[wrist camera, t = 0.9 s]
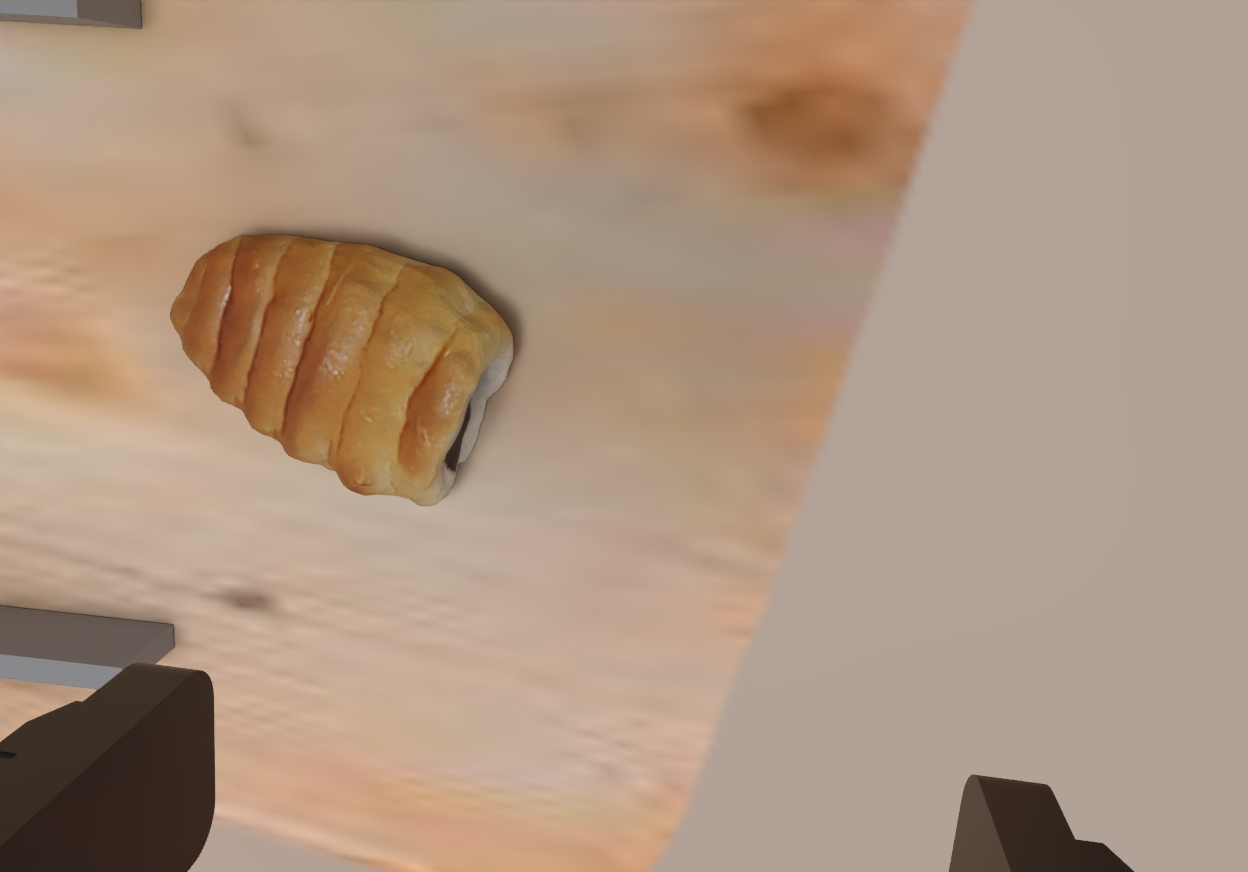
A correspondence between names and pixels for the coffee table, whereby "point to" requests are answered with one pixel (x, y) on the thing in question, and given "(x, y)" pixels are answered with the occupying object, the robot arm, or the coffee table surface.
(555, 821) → the coffee table surface
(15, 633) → the box
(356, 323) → the pastry
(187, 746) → the robot arm
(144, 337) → the coffee table surface
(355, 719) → the coffee table surface
